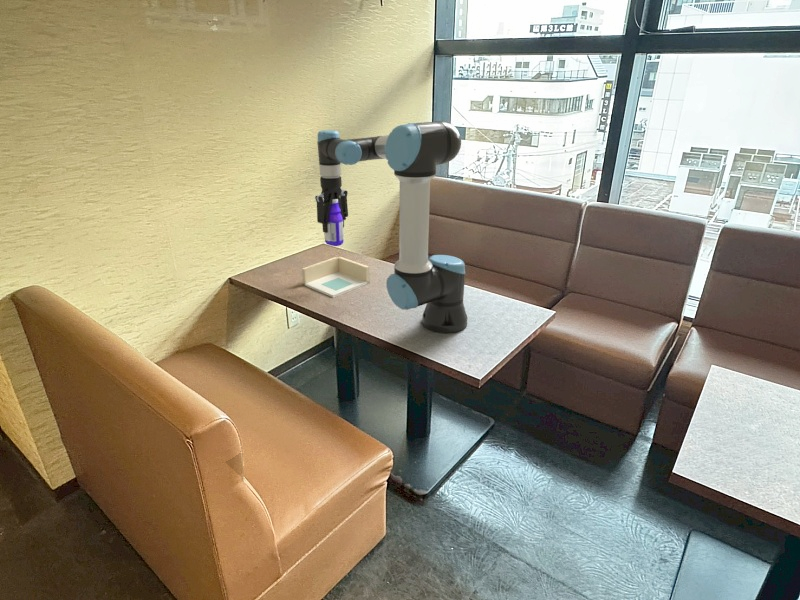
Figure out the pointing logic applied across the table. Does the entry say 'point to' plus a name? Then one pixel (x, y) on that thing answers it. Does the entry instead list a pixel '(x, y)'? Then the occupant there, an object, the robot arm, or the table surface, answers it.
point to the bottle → (335, 225)
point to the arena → (335, 276)
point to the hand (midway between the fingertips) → (334, 238)
